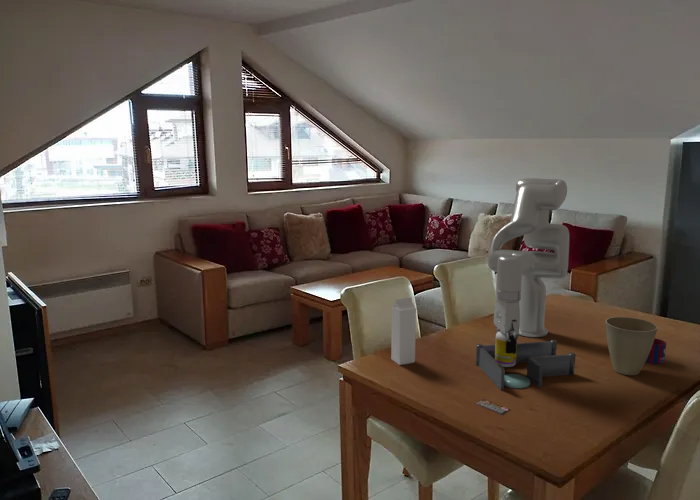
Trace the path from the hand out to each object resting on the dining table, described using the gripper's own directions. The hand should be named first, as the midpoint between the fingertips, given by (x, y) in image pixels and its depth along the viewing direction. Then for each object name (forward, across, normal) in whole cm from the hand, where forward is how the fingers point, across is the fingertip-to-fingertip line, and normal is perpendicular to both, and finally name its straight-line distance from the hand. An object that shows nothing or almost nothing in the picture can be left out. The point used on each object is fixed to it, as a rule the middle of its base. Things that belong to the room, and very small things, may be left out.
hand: (506, 348), depth 186 cm
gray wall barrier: (+8, +2, +7) cm, 11 cm away
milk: (+8, -14, -30) cm, 34 cm away
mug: (+8, -3, +52) cm, 53 cm away
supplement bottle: (+5, 0, 0) cm, 5 cm away
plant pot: (+8, +5, +39) cm, 40 cm away
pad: (+8, +8, 0) cm, 11 cm away
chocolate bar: (+9, +23, -13) cm, 27 cm away
